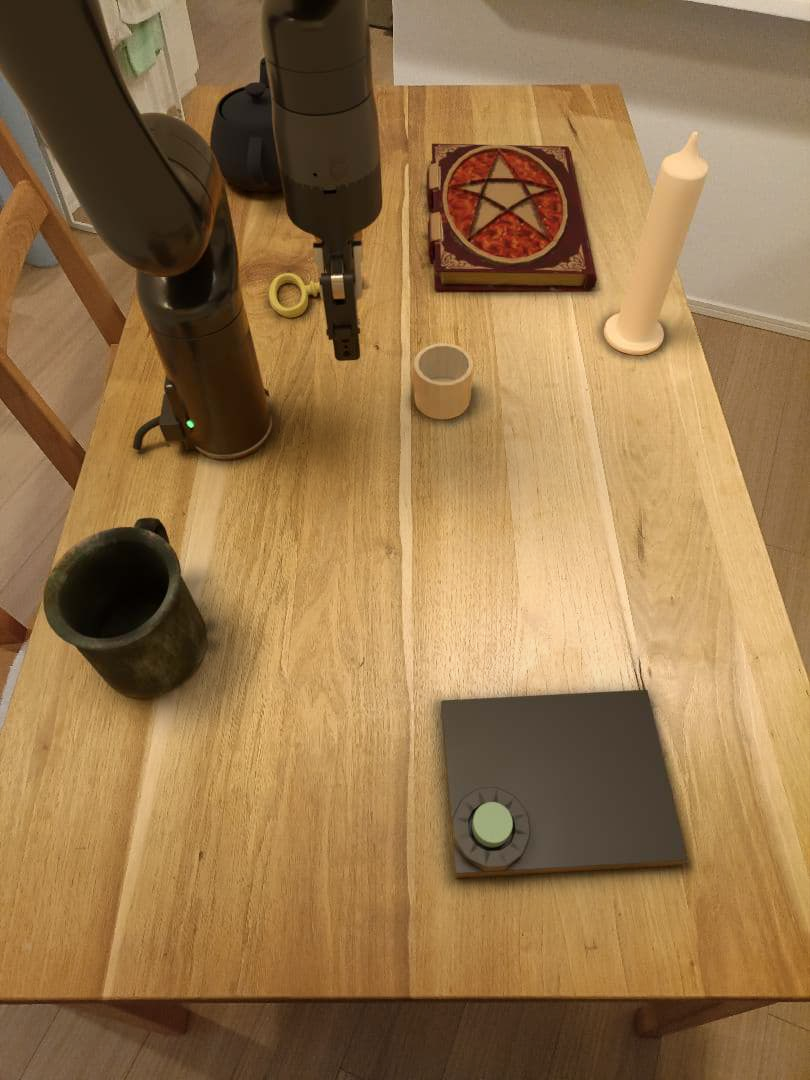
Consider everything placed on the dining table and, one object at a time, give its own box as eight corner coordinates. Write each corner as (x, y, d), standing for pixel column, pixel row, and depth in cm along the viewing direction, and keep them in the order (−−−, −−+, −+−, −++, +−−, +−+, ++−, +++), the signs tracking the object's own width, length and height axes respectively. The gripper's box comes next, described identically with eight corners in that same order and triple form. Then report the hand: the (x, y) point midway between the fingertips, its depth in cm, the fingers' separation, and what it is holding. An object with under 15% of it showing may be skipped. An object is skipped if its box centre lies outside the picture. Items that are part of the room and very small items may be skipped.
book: (592, 294, 98) (601, 261, 94) (428, 292, 98) (430, 259, 94) (567, 167, 114) (574, 134, 110) (425, 165, 114) (426, 131, 109)
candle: (661, 359, 91) (735, 157, 70) (601, 351, 92) (656, 149, 71) (663, 319, 95) (733, 116, 74) (605, 312, 96) (658, 108, 75)
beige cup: (416, 421, 86) (416, 386, 82) (412, 379, 90) (412, 344, 85) (472, 418, 87) (475, 383, 82) (467, 377, 90) (470, 341, 85)
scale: (454, 878, 60) (456, 870, 58) (440, 708, 68) (441, 693, 65) (680, 865, 61) (694, 856, 58) (642, 697, 68) (652, 682, 65)
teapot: (319, 219, 107) (309, 132, 96) (207, 222, 107) (185, 135, 96) (325, 121, 120) (316, 36, 110) (226, 124, 120) (208, 38, 110)
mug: (79, 701, 69) (22, 643, 59) (123, 562, 77) (78, 490, 67) (199, 708, 68) (161, 652, 58) (230, 568, 76) (202, 496, 66)
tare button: (473, 848, 59) (475, 844, 57) (469, 808, 60) (471, 802, 59) (512, 846, 59) (515, 841, 57) (508, 806, 60) (510, 800, 59)
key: (368, 286, 99) (367, 272, 97) (284, 323, 95) (281, 309, 94) (340, 257, 102) (339, 243, 100) (257, 291, 99) (254, 277, 97)
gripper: (280, 103, 60) (307, 275, 74) (273, 214, 52) (304, 384, 66) (376, 98, 60) (385, 271, 74) (383, 208, 52) (392, 379, 66)
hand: (347, 324), depth 70 cm, fingers open, 8 cm apart
